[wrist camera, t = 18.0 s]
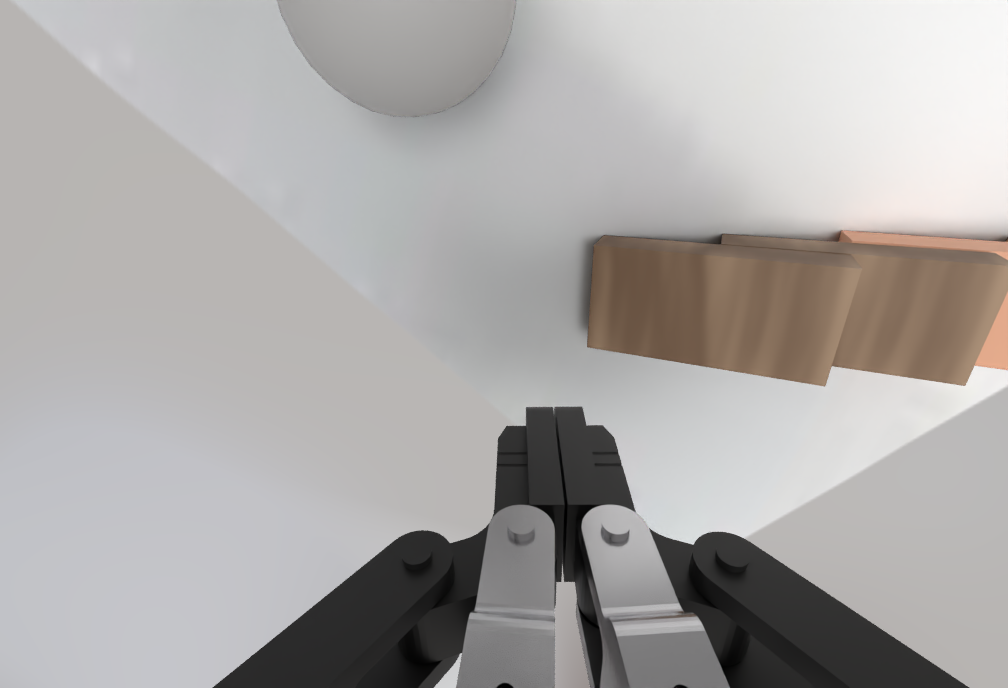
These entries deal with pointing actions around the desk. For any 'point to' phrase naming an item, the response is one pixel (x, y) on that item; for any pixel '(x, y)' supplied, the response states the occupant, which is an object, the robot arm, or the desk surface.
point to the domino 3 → (1004, 339)
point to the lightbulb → (401, 48)
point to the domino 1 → (721, 305)
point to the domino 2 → (911, 306)
